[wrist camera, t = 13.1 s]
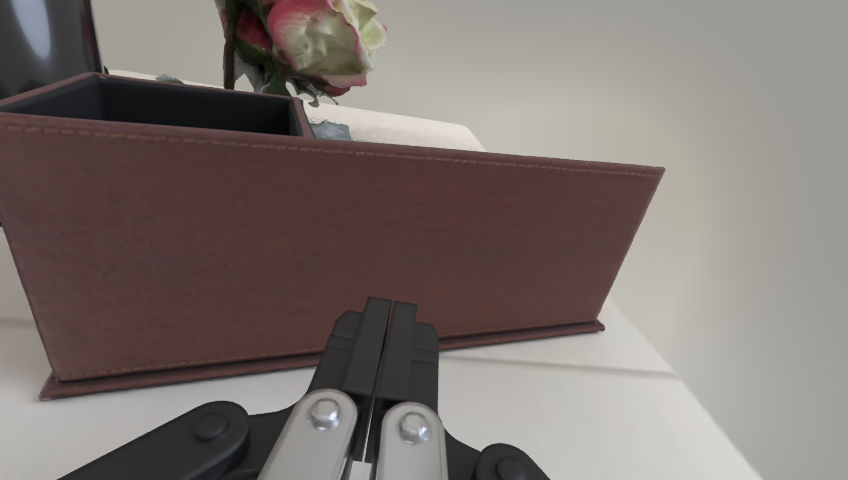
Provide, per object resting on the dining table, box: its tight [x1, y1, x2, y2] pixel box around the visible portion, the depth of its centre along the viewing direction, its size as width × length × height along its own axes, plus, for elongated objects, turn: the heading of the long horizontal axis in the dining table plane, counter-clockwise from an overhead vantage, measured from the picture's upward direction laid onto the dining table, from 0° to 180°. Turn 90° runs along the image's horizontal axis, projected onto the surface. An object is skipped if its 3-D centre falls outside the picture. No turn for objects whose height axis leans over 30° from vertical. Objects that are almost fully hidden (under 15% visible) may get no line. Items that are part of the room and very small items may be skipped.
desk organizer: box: [0, 72, 665, 401], centre depth 23 cm, size 10×29×11 cm, turn 109°
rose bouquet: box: [156, 0, 387, 141], centre depth 49 cm, size 26×29×30 cm
